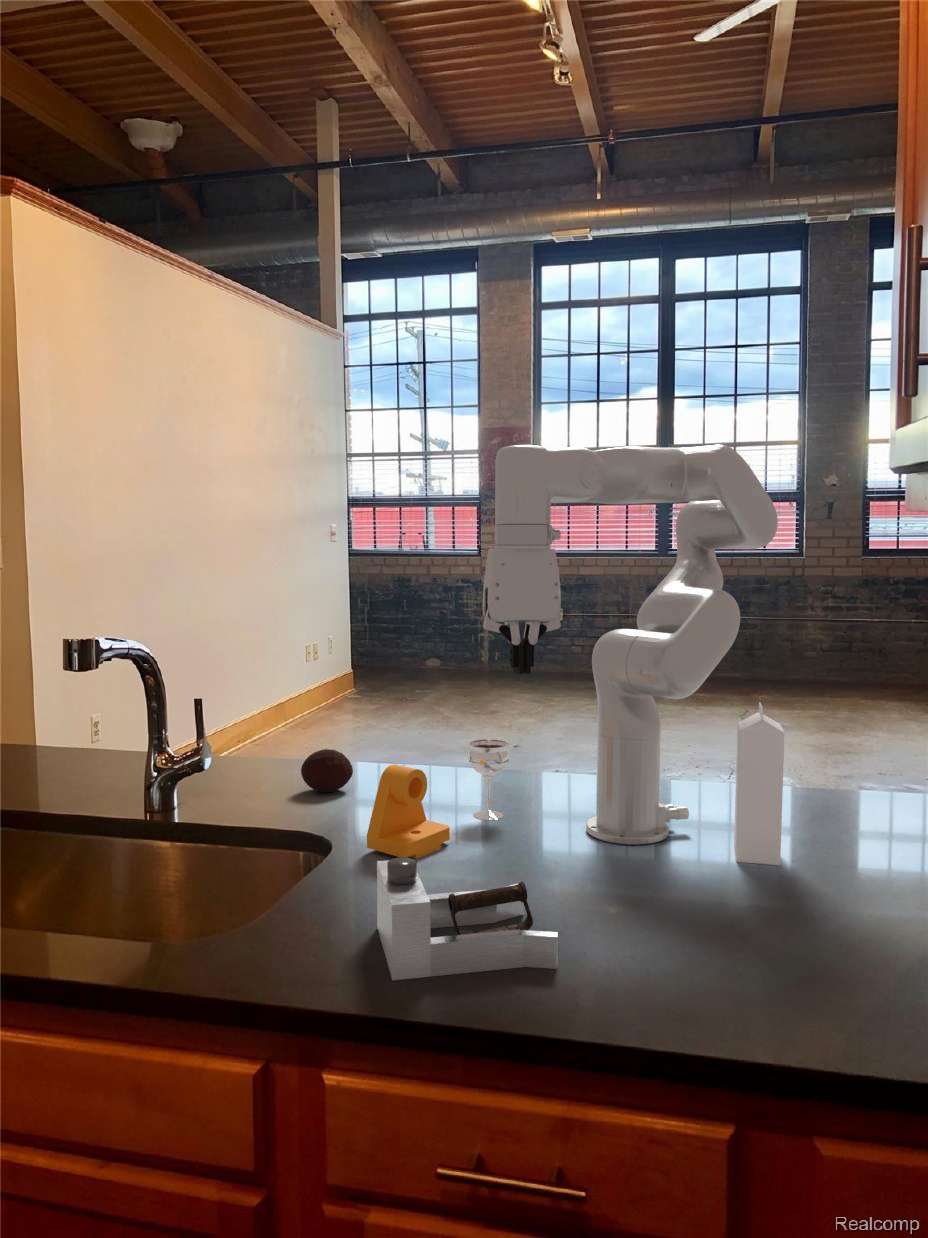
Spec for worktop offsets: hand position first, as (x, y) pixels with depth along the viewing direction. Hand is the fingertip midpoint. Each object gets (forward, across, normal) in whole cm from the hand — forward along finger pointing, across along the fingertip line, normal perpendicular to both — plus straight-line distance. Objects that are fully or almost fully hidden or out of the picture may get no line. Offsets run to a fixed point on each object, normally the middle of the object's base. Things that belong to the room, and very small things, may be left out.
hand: (521, 672), depth 124 cm
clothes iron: (+28, +11, +25) cm, 39 cm away
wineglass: (+27, -1, -23) cm, 36 cm away
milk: (+27, -34, +4) cm, 44 cm away
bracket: (+27, +14, -10) cm, 32 cm away
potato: (+27, +24, -43) cm, 56 cm away
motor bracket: (+27, +13, +23) cm, 38 cm away
